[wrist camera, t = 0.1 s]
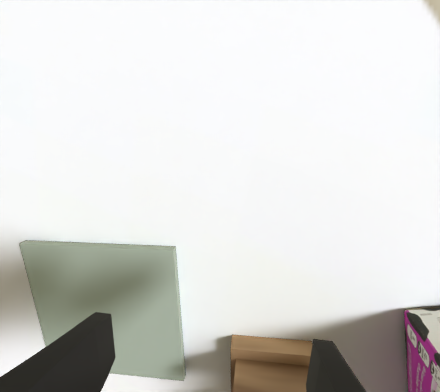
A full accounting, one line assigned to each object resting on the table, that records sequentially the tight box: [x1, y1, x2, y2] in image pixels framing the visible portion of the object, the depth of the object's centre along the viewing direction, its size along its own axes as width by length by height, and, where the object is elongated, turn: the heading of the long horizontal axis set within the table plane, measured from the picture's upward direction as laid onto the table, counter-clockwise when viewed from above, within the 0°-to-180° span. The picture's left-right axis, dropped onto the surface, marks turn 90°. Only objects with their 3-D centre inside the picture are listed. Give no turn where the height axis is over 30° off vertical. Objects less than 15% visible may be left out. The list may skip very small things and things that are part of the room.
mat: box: [20, 240, 186, 381], centre depth 23 cm, size 12×12×1 cm
